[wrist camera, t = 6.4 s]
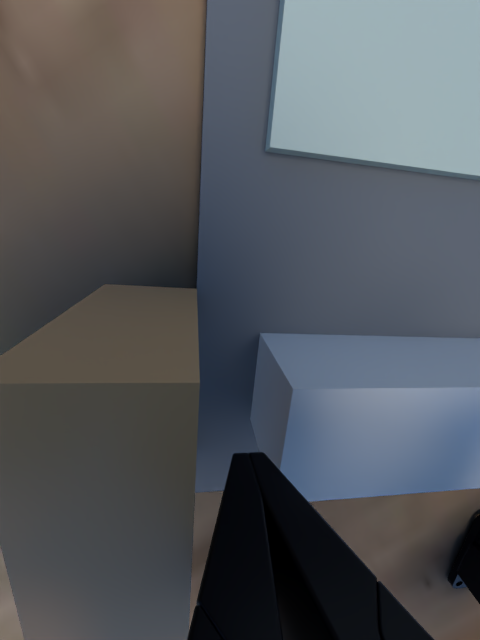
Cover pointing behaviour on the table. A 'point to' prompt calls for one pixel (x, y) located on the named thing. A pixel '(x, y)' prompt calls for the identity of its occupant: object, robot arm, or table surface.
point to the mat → (307, 240)
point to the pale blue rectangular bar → (369, 413)
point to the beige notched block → (102, 467)
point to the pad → (379, 84)
